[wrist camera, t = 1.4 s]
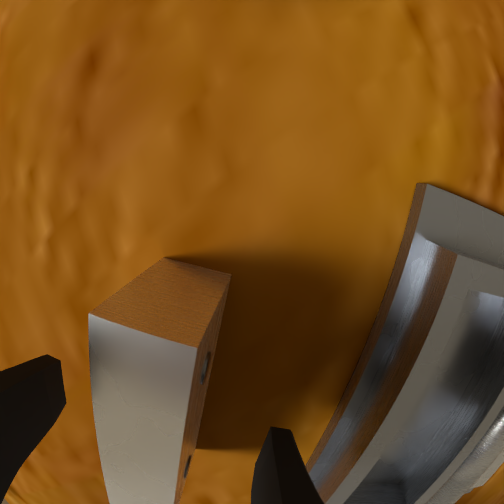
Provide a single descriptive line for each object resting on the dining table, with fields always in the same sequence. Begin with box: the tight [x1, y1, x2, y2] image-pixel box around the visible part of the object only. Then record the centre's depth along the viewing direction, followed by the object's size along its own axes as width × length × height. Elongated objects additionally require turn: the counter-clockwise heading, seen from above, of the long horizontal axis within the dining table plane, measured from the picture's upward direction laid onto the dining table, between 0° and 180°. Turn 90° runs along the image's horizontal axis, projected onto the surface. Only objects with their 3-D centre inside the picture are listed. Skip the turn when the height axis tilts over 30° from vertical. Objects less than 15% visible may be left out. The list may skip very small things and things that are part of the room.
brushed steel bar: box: [89, 257, 232, 504], centre depth 9 cm, size 9×2×5 cm, turn 167°
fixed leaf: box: [305, 183, 504, 504], centre depth 10 cm, size 16×13×3 cm
